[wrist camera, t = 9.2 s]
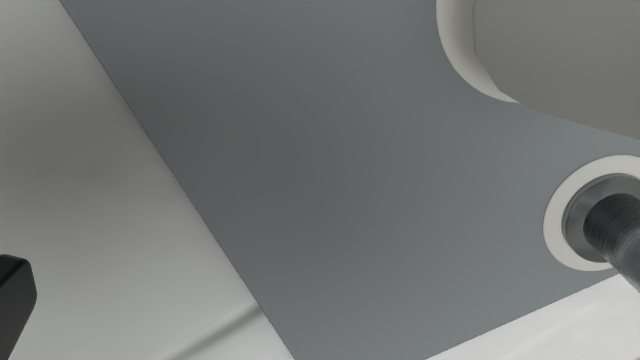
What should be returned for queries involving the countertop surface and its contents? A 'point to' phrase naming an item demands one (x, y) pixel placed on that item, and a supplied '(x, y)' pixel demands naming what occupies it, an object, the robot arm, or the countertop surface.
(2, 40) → the countertop surface
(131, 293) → the countertop surface
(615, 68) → the salt shaker
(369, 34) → the mat
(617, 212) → the steel pin
